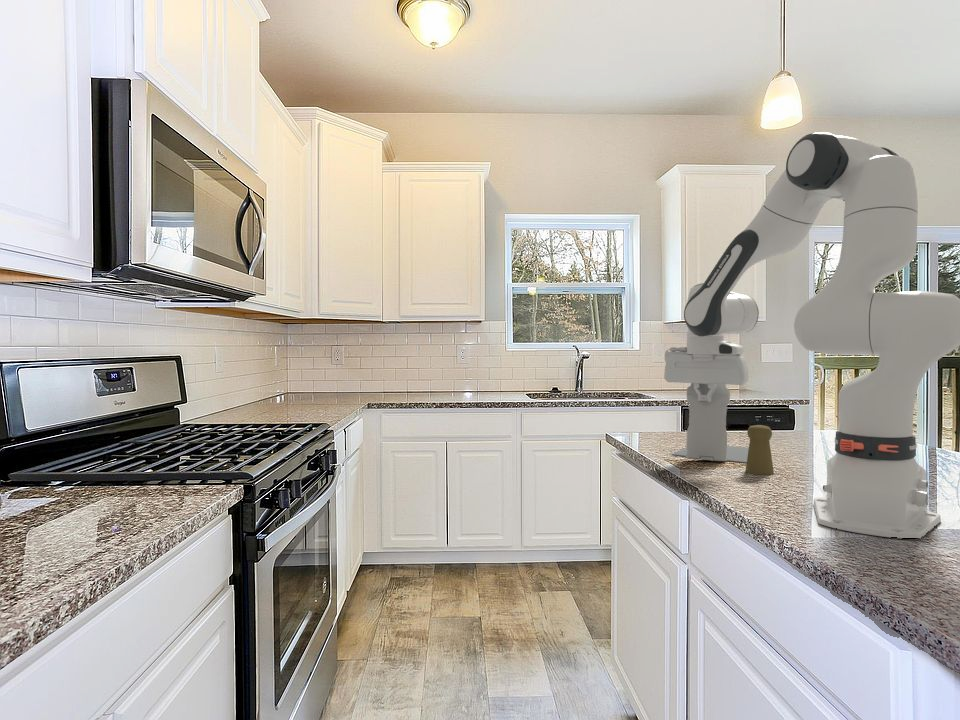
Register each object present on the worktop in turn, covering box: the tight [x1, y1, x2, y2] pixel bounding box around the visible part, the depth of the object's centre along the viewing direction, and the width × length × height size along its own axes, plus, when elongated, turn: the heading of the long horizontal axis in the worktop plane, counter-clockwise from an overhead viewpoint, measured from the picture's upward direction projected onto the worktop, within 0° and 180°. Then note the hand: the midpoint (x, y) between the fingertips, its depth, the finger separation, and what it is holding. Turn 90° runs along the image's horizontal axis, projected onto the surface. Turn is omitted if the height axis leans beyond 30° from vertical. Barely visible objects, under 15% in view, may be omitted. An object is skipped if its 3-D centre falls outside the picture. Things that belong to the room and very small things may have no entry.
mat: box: [671, 445, 749, 464], centre depth 164 cm, size 22×20×1 cm
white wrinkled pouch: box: [685, 383, 731, 462], centre depth 154 cm, size 11×4×22 cm, turn 75°
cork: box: [745, 424, 775, 476], centre depth 140 cm, size 6×6×11 cm
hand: (704, 401), depth 153 cm, fingers closed
